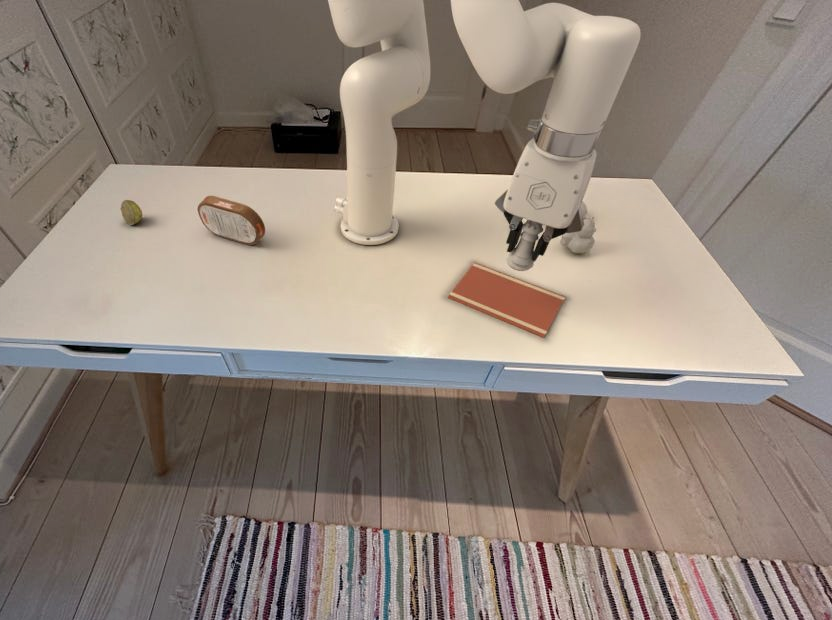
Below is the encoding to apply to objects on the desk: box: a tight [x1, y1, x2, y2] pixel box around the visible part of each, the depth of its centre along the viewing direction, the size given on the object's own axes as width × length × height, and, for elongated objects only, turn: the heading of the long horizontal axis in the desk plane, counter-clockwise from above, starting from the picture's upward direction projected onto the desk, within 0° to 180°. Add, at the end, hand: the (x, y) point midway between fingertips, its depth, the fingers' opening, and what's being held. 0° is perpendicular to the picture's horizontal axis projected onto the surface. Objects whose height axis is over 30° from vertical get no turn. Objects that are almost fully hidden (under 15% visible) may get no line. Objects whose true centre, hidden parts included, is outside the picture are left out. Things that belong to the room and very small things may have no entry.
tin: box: [197, 195, 266, 246], centre depth 87 cm, size 15×3×8 cm, turn 65°
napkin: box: [447, 262, 566, 339], centre depth 78 cm, size 18×12×1 cm, turn 56°
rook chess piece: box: [506, 219, 544, 272], centre depth 69 cm, size 4×4×8 cm
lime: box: [120, 199, 144, 226], centre depth 92 cm, size 4×5×5 cm
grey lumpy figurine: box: [559, 215, 597, 254], centre depth 84 cm, size 5×7×8 cm
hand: (523, 251), depth 70 cm, fingers closed on rook chess piece, 3 cm apart
